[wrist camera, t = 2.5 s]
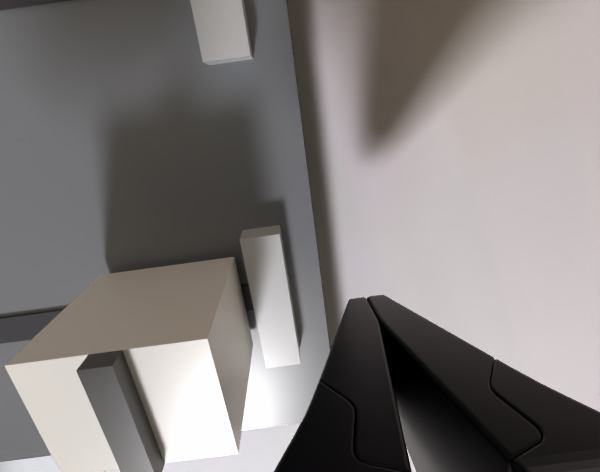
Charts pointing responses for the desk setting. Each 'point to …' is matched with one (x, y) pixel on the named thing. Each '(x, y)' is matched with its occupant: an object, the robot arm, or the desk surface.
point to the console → (156, 176)
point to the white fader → (141, 370)
